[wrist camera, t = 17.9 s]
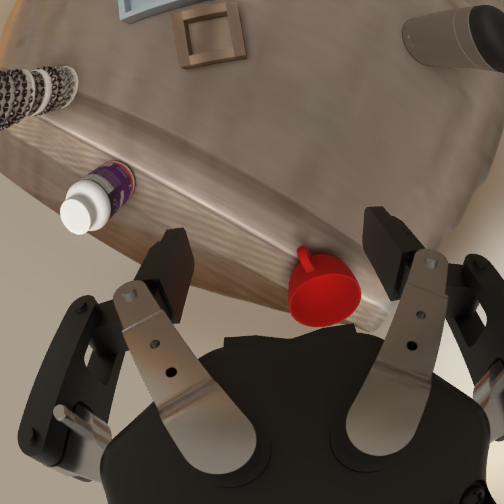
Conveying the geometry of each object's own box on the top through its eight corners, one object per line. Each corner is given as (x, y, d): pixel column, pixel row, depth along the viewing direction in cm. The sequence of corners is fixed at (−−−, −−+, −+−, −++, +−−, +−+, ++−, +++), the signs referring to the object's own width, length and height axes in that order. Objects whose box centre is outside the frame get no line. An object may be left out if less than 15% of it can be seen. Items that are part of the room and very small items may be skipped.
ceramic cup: (327, 212, 46) (342, 242, 38) (354, 276, 54) (368, 310, 46) (262, 242, 50) (264, 277, 42) (299, 300, 58) (305, 335, 50)
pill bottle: (122, 209, 46) (85, 252, 34) (92, 182, 43) (47, 219, 31) (145, 178, 43) (107, 216, 31) (112, 150, 39) (65, 179, 28)
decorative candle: (81, 106, 34) (-31, 146, 14) (45, 115, 34) (-56, 160, 13) (81, 58, 29) (-33, 69, 8) (44, 71, 29) (-61, 95, 8)
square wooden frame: (238, 8, 27) (236, 0, 24) (246, 58, 32) (245, 55, 29) (178, 20, 28) (171, 14, 24) (186, 69, 33) (180, 67, 29)
